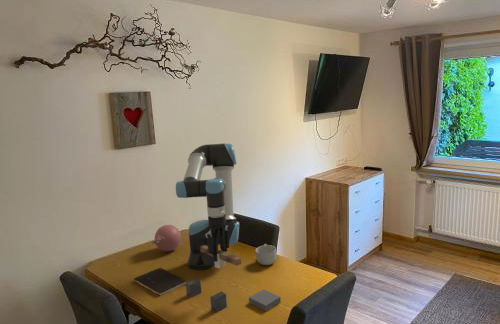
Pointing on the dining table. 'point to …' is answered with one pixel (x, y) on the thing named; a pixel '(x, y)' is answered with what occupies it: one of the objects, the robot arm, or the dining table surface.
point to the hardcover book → (161, 281)
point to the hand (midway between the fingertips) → (220, 266)
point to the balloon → (167, 238)
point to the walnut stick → (222, 256)
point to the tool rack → (216, 300)
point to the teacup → (266, 254)
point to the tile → (264, 300)
